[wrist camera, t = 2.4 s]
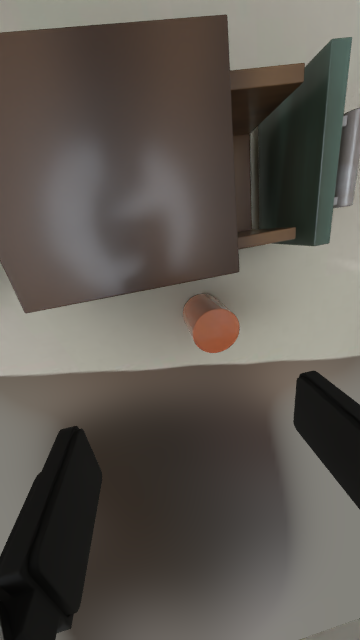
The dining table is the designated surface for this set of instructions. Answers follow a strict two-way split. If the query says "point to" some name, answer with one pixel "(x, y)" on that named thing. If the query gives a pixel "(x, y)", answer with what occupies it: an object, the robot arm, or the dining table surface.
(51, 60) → the cabinet
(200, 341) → the tumbler
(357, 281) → the dining table surface
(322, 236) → the drawer
